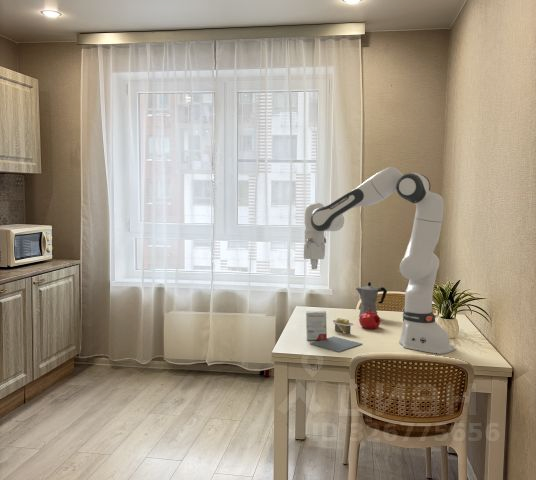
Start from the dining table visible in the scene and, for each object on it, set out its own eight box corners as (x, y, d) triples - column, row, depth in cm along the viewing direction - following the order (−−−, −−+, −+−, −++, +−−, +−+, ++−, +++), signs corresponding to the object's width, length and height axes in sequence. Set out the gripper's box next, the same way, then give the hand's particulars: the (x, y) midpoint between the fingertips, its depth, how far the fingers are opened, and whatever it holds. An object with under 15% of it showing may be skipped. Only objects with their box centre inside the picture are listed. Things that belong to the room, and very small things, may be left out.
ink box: (326, 337, 239) (326, 310, 238) (326, 340, 234) (326, 312, 233) (306, 337, 240) (306, 310, 239) (306, 340, 235) (306, 312, 234)
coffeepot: (356, 319, 274) (357, 283, 272) (354, 315, 283) (355, 280, 281) (387, 320, 273) (388, 284, 271) (384, 315, 282) (385, 281, 280)
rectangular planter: (352, 339, 238) (353, 325, 238) (317, 332, 249) (317, 318, 249) (365, 334, 248) (366, 320, 247) (331, 327, 259) (331, 313, 258)
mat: (362, 344, 230) (362, 343, 230) (338, 352, 219) (338, 351, 218) (333, 337, 240) (333, 336, 240) (310, 344, 229) (310, 343, 229)
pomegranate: (358, 329, 255) (358, 310, 254) (359, 324, 264) (360, 305, 263) (380, 331, 252) (380, 311, 251) (380, 325, 262) (381, 306, 261)
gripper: (313, 238, 240) (313, 269, 240) (327, 239, 259) (327, 269, 258) (300, 238, 242) (300, 269, 242) (314, 239, 261) (314, 269, 261)
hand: (314, 269), depth 250 cm, fingers closed
